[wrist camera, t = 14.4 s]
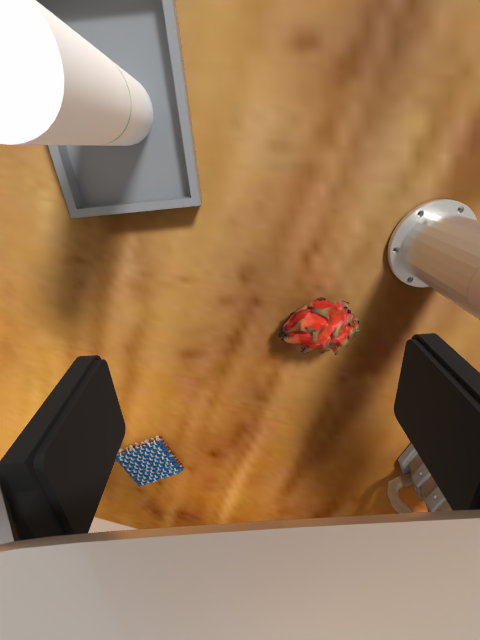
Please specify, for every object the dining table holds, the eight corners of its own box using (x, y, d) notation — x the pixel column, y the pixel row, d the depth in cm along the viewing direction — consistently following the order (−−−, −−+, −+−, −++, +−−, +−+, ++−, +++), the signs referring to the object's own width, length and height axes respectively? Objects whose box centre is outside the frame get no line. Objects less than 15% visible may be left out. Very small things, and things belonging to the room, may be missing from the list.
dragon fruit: (352, 308, 55) (278, 316, 57) (357, 281, 47) (273, 292, 49) (362, 357, 51) (283, 365, 53) (369, 337, 43) (277, 346, 45)
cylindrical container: (95, 60, 36) (-103, -76, 14) (160, 89, 38) (74, 6, 15) (84, 131, 39) (-93, 111, 17) (145, 155, 41) (54, 166, 18)
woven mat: (112, 448, 65) (109, 457, 63) (160, 431, 63) (159, 439, 62) (140, 480, 70) (138, 489, 68) (186, 465, 68) (185, 473, 66)
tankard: (455, 425, 66) (515, 496, 53) (463, 464, 72) (518, 537, 58) (358, 458, 69) (391, 533, 56) (373, 493, 75) (406, 569, 61)
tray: (171, -25, 34) (166, -42, 31) (201, 201, 44) (200, 205, 41) (15, -10, 34) (-6, -25, 31) (81, 213, 44) (70, 218, 41)
